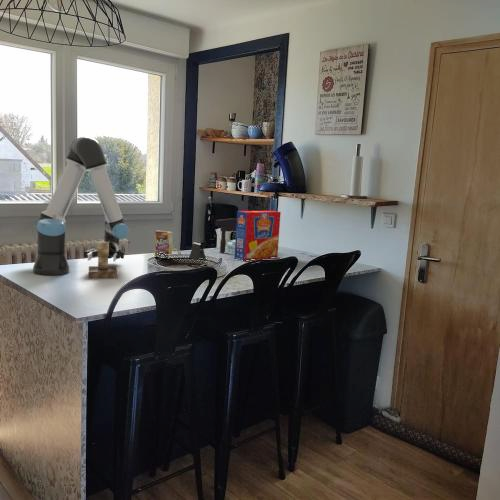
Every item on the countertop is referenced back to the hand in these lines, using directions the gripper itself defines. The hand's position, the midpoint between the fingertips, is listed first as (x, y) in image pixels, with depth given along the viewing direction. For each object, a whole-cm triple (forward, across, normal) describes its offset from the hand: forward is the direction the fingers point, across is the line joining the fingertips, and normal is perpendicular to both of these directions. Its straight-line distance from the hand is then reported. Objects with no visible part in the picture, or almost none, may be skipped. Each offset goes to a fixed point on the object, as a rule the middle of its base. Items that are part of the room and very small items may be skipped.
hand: (101, 257), depth 215 cm
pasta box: (-63, -79, -9) cm, 101 cm away
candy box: (-52, -25, -9) cm, 59 cm away
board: (-4, 0, -9) cm, 10 cm away
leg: (-4, 0, -9) cm, 10 cm away
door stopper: (-35, -43, -9) cm, 57 cm away
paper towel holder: (-86, -68, -9) cm, 111 cm away
